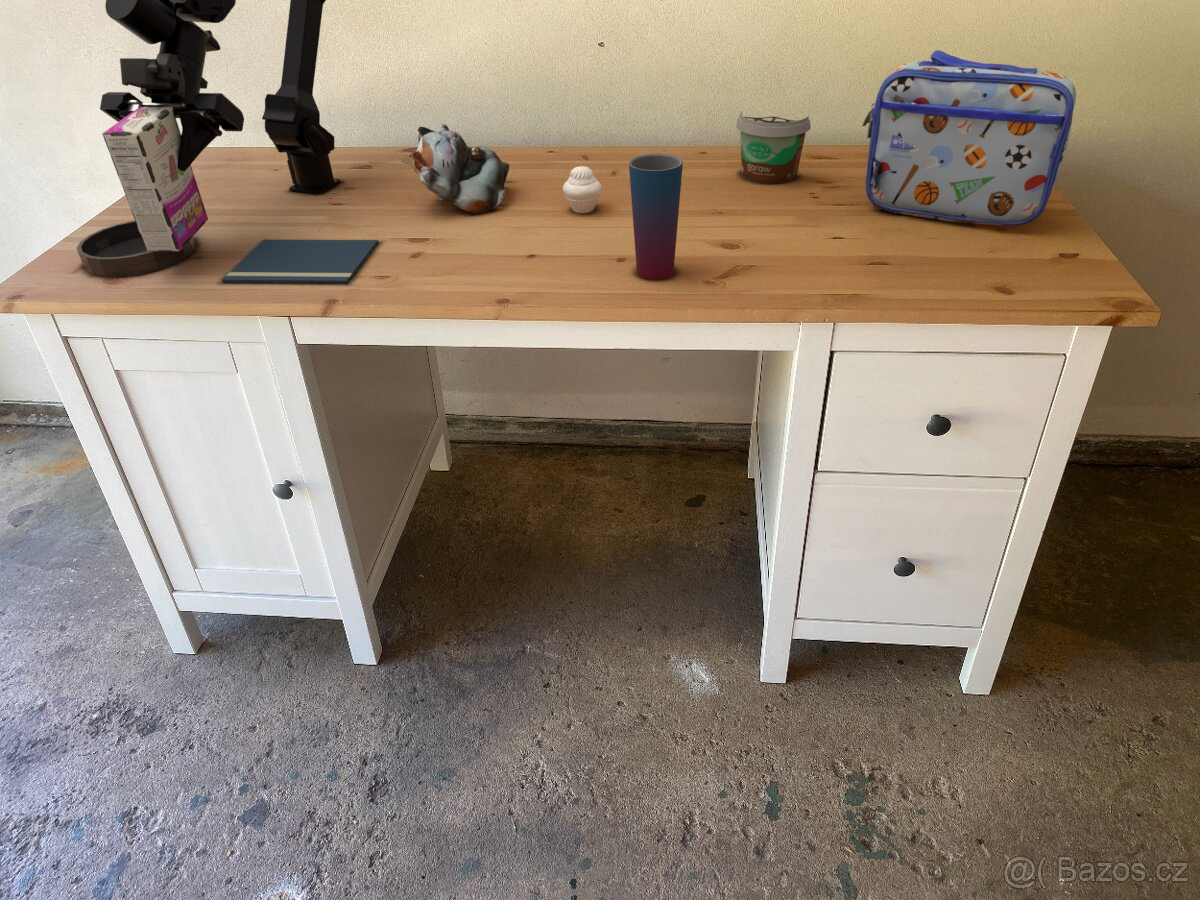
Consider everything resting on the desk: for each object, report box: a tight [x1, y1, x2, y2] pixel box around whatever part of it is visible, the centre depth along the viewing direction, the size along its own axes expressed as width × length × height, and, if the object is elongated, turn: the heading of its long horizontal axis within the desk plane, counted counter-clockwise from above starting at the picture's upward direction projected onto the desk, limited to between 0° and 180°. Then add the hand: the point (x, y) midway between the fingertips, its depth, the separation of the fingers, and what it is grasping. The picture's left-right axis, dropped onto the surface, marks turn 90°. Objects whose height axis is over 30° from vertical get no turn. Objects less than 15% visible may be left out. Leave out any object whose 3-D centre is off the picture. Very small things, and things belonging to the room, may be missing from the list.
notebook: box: [221, 239, 379, 285], centre depth 120 cm, size 18×14×1 cm
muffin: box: [562, 165, 603, 214], centre depth 131 cm, size 6×6×7 cm
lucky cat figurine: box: [410, 123, 510, 215], centre depth 134 cm, size 15×12×14 cm
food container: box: [735, 110, 812, 185], centre depth 138 cm, size 12×6×10 cm, turn 68°
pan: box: [76, 219, 195, 278], centre depth 124 cm, size 15×15×3 cm
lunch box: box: [861, 49, 1077, 227], centre depth 120 cm, size 28×10×22 cm, turn 62°
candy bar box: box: [101, 106, 209, 252], centre depth 114 cm, size 11×5×16 cm, turn 0°
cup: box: [628, 152, 684, 281], centre depth 109 cm, size 7×7×15 cm
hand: (163, 169), depth 115 cm, fingers closed on candy bar box, 5 cm apart
